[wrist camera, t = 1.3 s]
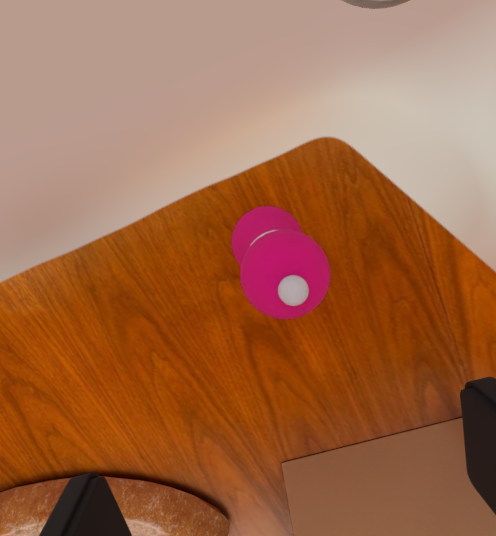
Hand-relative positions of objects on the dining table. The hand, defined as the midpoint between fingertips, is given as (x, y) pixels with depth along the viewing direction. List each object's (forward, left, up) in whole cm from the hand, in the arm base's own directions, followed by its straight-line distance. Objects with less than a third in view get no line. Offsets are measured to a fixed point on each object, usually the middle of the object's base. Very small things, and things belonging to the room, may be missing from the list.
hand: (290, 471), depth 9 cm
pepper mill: (-2, +1, -31) cm, 31 cm away
